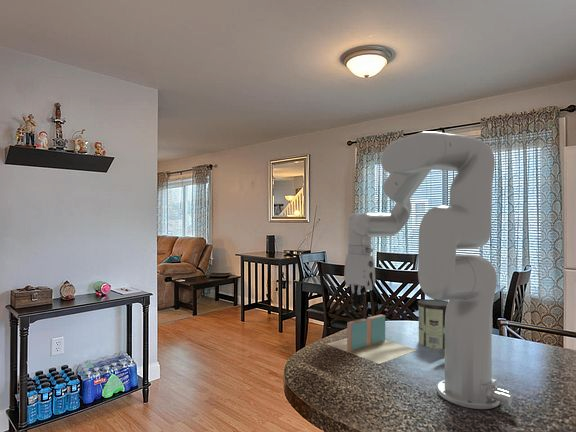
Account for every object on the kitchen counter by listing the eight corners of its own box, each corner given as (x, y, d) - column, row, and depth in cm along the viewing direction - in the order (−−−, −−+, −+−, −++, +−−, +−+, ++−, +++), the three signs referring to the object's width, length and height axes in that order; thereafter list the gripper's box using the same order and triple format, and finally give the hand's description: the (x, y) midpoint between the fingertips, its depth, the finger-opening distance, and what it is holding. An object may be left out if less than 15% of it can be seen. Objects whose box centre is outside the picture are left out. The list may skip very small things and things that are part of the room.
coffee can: (445, 342, 120) (445, 299, 121) (459, 353, 110) (459, 306, 110) (413, 341, 121) (413, 298, 121) (424, 352, 110) (424, 305, 111)
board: (417, 354, 109) (417, 349, 109) (379, 368, 98) (379, 363, 98) (364, 337, 125) (364, 333, 125) (326, 347, 114) (326, 344, 114)
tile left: (367, 346, 112) (367, 319, 112) (351, 351, 108) (351, 323, 108) (362, 344, 113) (362, 318, 114) (347, 349, 109) (347, 322, 109)
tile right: (385, 340, 118) (385, 315, 118) (371, 345, 113) (371, 318, 113) (380, 339, 119) (381, 314, 119) (366, 343, 115) (367, 317, 115)
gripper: (384, 252, 119) (383, 308, 119) (350, 248, 130) (348, 300, 130) (369, 253, 114) (368, 312, 114) (335, 249, 126) (334, 302, 126)
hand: (358, 305), depth 122 cm, fingers closed
